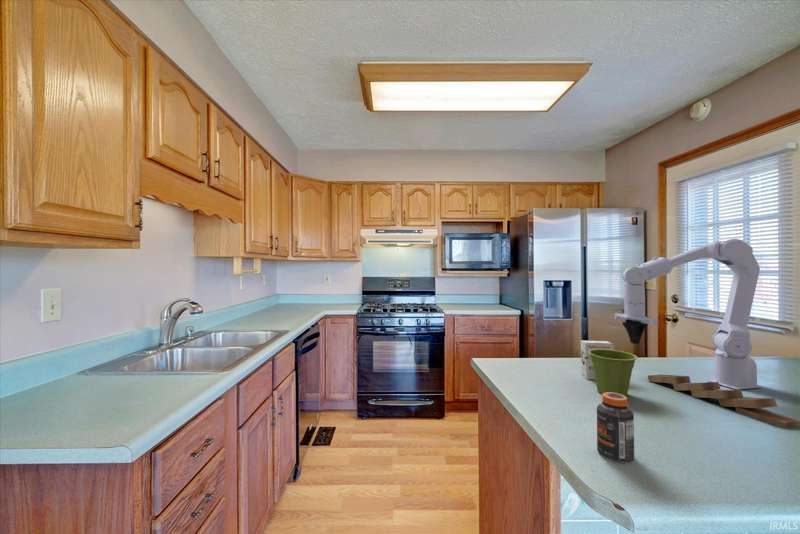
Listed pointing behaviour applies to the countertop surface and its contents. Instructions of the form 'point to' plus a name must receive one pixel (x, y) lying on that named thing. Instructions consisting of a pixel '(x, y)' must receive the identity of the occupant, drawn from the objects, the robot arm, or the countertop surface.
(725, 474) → the countertop surface
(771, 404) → the domino
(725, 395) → the domino
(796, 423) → the domino
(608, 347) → the ink box
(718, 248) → the robot arm
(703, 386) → the domino
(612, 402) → the pill bottle
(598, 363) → the plant pot
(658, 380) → the domino
